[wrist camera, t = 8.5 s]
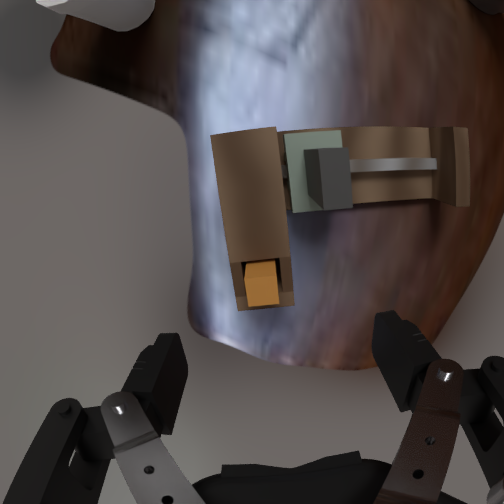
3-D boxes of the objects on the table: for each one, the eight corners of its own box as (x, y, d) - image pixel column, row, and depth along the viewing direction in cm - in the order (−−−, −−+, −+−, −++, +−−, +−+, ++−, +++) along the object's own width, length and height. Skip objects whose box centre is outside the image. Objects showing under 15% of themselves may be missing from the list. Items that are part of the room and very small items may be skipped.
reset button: (274, 255, 26) (276, 275, 22) (277, 279, 27) (279, 303, 23) (247, 258, 26) (244, 278, 22) (250, 282, 27) (248, 306, 23)
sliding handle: (331, 132, 27) (367, 124, 17) (337, 200, 29) (373, 227, 19) (281, 136, 27) (291, 127, 17) (289, 205, 30) (303, 234, 20)
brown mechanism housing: (437, 129, 27) (479, 128, 19) (438, 251, 32) (473, 276, 24) (223, 139, 29) (210, 135, 21) (243, 274, 34) (237, 311, 26)
